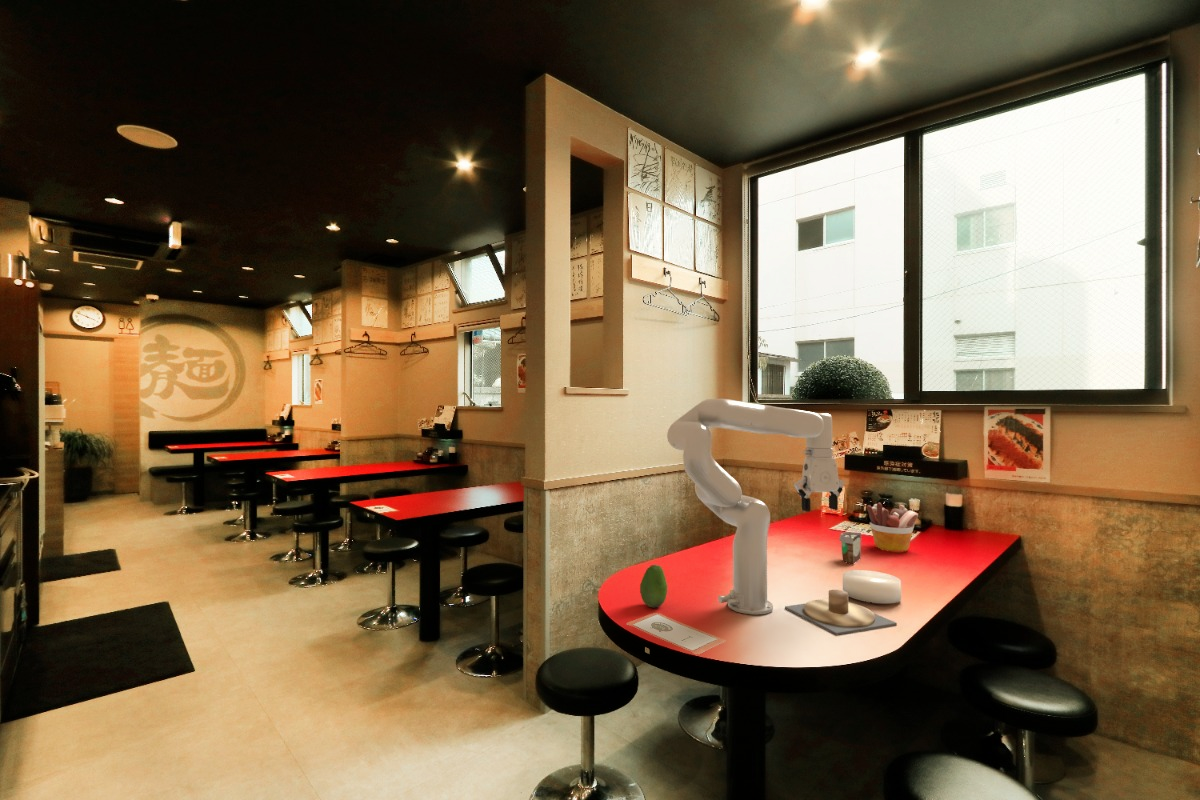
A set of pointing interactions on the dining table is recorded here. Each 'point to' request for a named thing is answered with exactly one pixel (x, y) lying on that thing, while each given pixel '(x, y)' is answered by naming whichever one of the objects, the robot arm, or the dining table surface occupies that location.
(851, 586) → the ceramic bowl
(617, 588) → the dining table surface
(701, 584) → the dining table surface
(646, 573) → the avocado
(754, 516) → the robot arm
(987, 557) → the dining table surface
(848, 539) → the food container
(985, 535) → the dining table surface
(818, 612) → the bamboo lid
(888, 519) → the bucket of meat
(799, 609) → the rubber mat
